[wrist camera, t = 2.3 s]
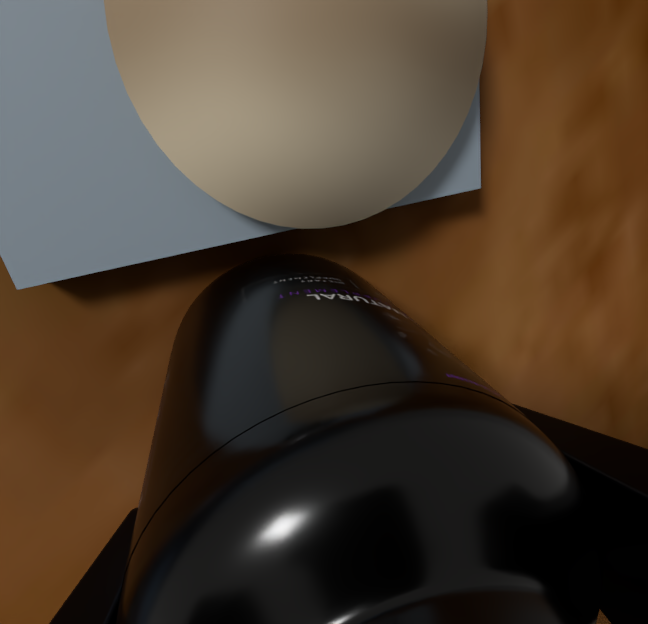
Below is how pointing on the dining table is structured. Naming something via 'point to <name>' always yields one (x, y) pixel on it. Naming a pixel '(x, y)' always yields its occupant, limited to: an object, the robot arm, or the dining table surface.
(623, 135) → the dining table surface
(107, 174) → the gear board
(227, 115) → the hub pad
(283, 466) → the supplement bottle
